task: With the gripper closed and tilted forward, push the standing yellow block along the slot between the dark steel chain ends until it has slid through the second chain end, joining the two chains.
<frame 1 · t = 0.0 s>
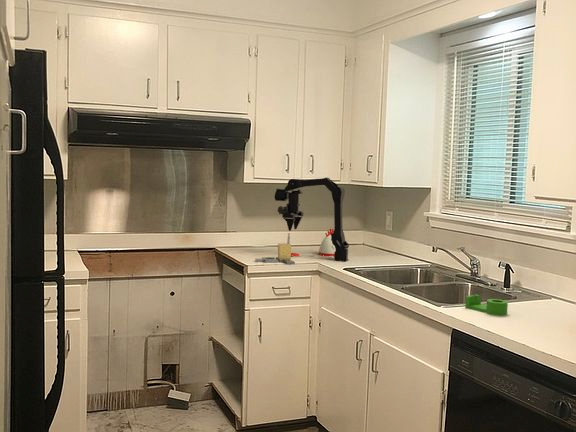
hand: (292, 230, 349), 15 cm above the worktop, tool pointing down, fingers open, 9 cm apart
green ring bracket: (487, 312, 230), on the worktop
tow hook: (291, 255, 354), on the worktop
yellow block: (284, 252, 332), point 5 cm above the worktop, slide at 0.0 cm
kitchen timer: (330, 255, 361), on the worktop
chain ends: (280, 261, 331), on the worktop
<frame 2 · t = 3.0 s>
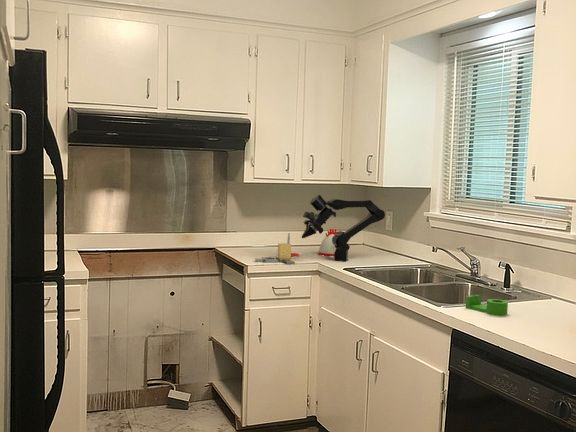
hand: (302, 237, 334), 12 cm above the worktop, tool tilted 45°, fingers closed
nothing on the worktop moved.
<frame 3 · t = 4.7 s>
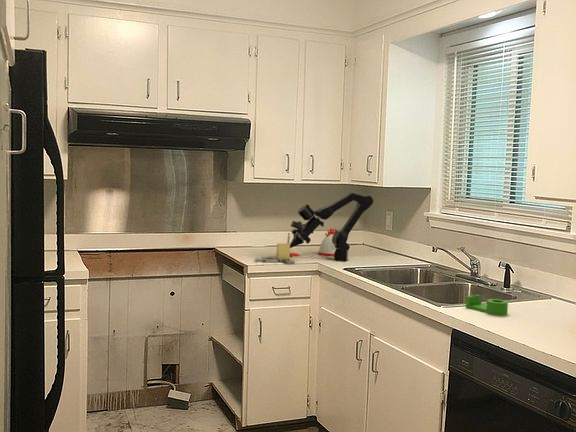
hand: (289, 247, 332), 7 cm above the worktop, tool tilted 45°, fingers closed, pressing on yellow block
yellow block: (283, 252, 331), point 5 cm above the worktop, slide at 0.6 cm, touching gripper
everything else where it was.
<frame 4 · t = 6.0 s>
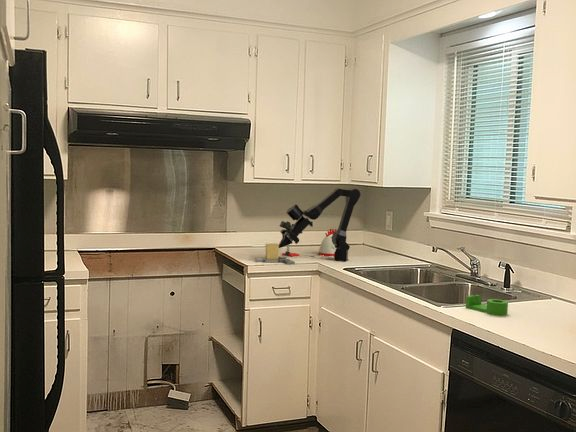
hand: (278, 247, 330), 7 cm above the worktop, tool tilted 45°, fingers closed, pressing on yellow block
yellow block: (272, 252, 330), point 5 cm above the worktop, slide at 6.6 cm, touching gripper
everything else where it was.
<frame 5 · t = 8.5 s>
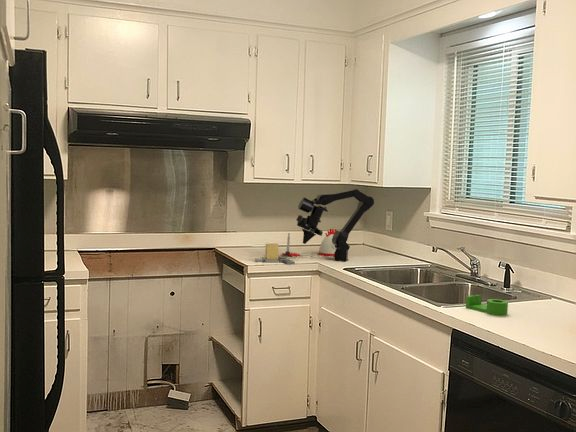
hand: (303, 243, 334), 9 cm above the worktop, tool tilted 20°, fingers closed
yellow block: (271, 252, 330), point 5 cm above the worktop, slide at 6.7 cm
everything else where it was.
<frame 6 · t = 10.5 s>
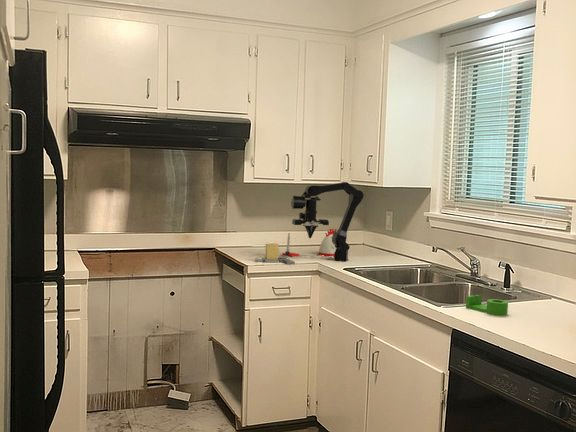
hand: (309, 238, 335), 12 cm above the worktop, tool pointing down, fingers closed
nothing on the worktop moved.
at the end: yellow block slide at 6.7 cm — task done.
